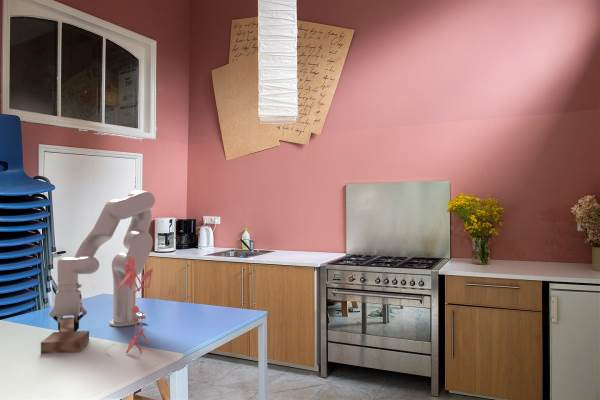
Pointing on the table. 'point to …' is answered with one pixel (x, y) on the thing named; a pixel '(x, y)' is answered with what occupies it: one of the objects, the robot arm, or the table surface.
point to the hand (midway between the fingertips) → (68, 330)
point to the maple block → (67, 324)
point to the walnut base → (65, 342)
